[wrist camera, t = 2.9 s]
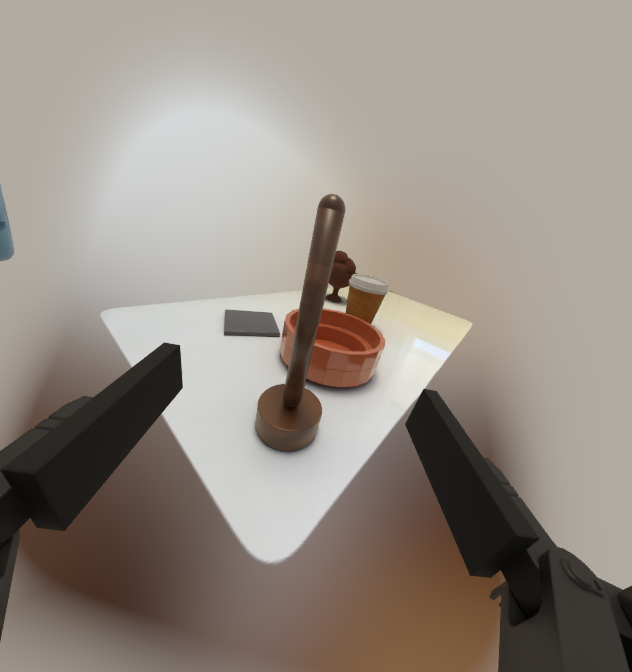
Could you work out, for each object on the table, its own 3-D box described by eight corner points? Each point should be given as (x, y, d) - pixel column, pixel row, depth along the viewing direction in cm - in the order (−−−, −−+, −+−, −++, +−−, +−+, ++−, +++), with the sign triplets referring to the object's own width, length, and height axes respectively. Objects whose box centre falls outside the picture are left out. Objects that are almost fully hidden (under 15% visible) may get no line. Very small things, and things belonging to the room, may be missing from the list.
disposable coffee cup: (376, 338, 54) (394, 288, 48) (336, 328, 54) (350, 278, 49) (373, 323, 62) (387, 280, 57) (338, 315, 63) (350, 271, 57)
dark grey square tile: (224, 335, 41) (224, 331, 41) (225, 312, 49) (225, 309, 49) (279, 336, 45) (280, 333, 44) (271, 315, 53) (272, 312, 52)
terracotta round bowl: (291, 394, 31) (300, 354, 28) (272, 335, 44) (276, 304, 42) (391, 388, 37) (406, 354, 34) (347, 338, 51) (355, 310, 48)
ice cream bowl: (330, 305, 68) (342, 253, 62) (311, 293, 76) (321, 246, 70) (356, 305, 74) (370, 258, 68) (336, 293, 82) (347, 250, 76)
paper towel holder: (258, 456, 22) (300, 175, 12) (252, 404, 28) (277, 183, 18) (325, 446, 25) (404, 207, 15) (306, 400, 30) (354, 205, 20)
